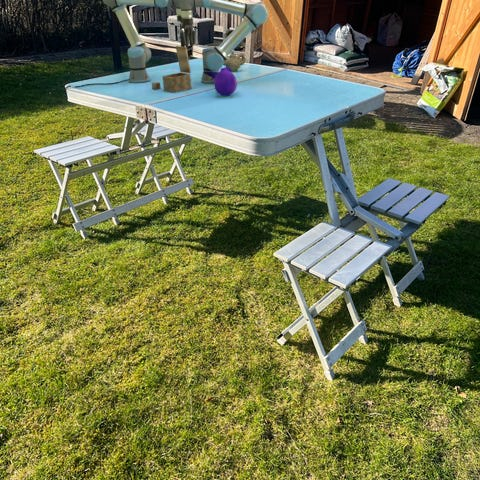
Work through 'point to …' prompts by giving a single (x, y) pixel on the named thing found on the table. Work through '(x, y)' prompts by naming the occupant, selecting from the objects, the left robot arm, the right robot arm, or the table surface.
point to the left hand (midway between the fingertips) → (184, 46)
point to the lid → (183, 58)
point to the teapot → (234, 61)
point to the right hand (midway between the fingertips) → (189, 55)
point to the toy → (224, 81)
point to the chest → (177, 82)
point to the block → (156, 85)
